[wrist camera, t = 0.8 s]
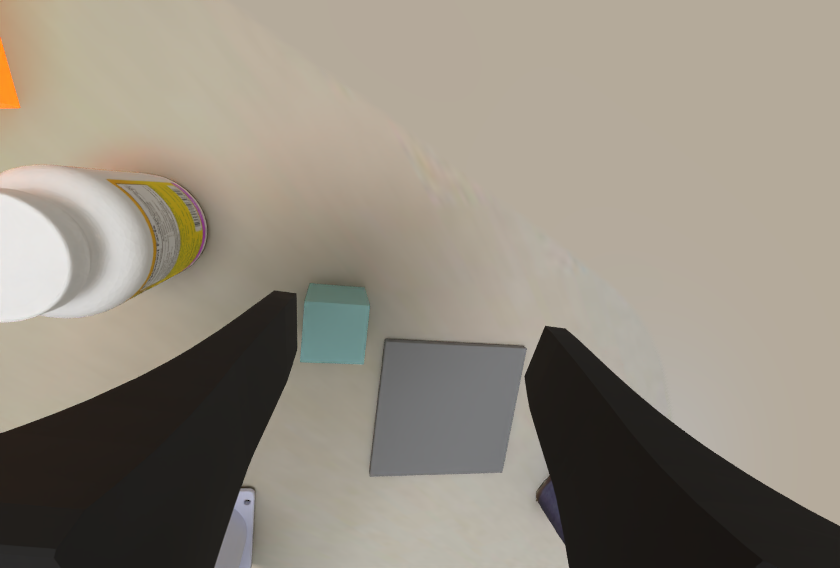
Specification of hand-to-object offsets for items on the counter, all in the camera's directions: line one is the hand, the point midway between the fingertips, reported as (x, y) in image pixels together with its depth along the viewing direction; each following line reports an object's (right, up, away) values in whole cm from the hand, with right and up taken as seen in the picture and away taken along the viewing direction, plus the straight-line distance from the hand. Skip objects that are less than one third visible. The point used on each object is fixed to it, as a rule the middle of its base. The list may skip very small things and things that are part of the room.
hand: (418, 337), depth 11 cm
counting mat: (+2, -9, +22) cm, 24 cm away
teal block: (-6, 0, +18) cm, 19 cm away
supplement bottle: (-17, +5, +14) cm, 23 cm away
